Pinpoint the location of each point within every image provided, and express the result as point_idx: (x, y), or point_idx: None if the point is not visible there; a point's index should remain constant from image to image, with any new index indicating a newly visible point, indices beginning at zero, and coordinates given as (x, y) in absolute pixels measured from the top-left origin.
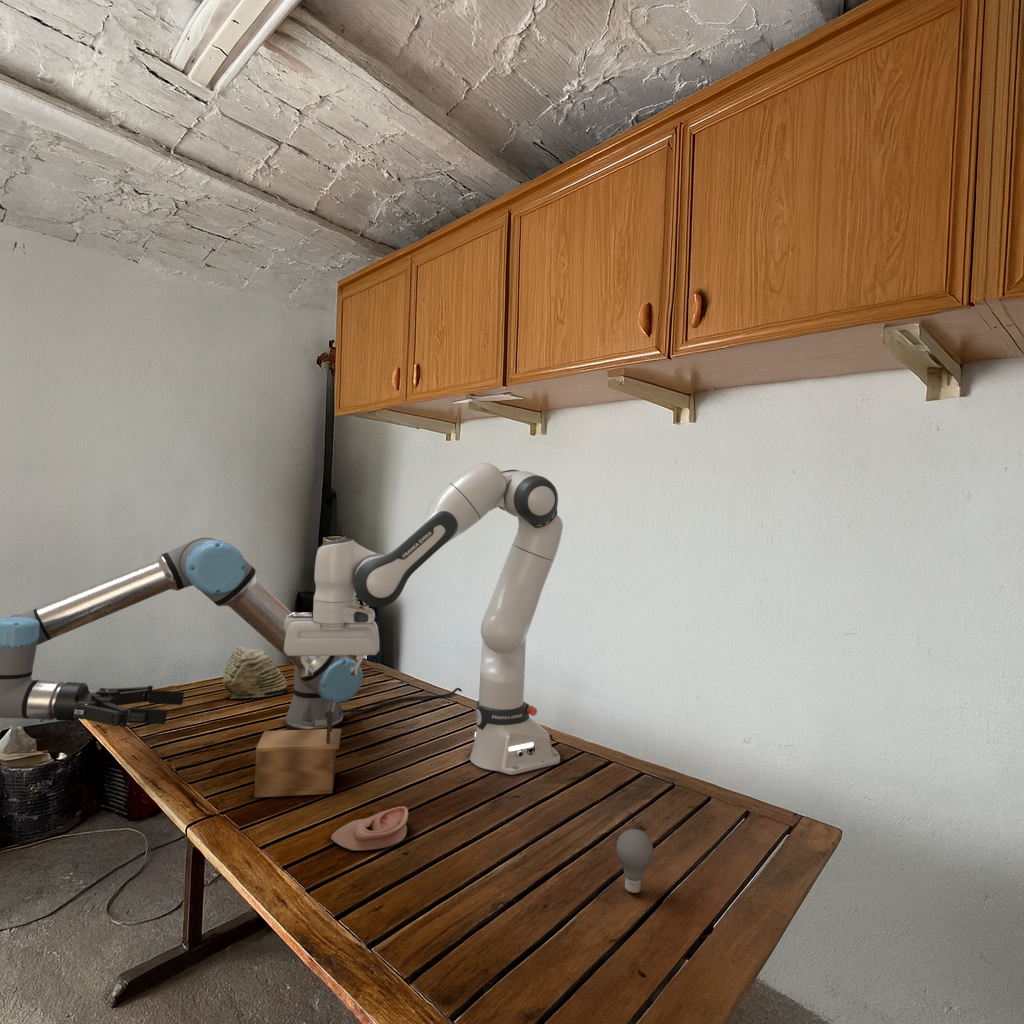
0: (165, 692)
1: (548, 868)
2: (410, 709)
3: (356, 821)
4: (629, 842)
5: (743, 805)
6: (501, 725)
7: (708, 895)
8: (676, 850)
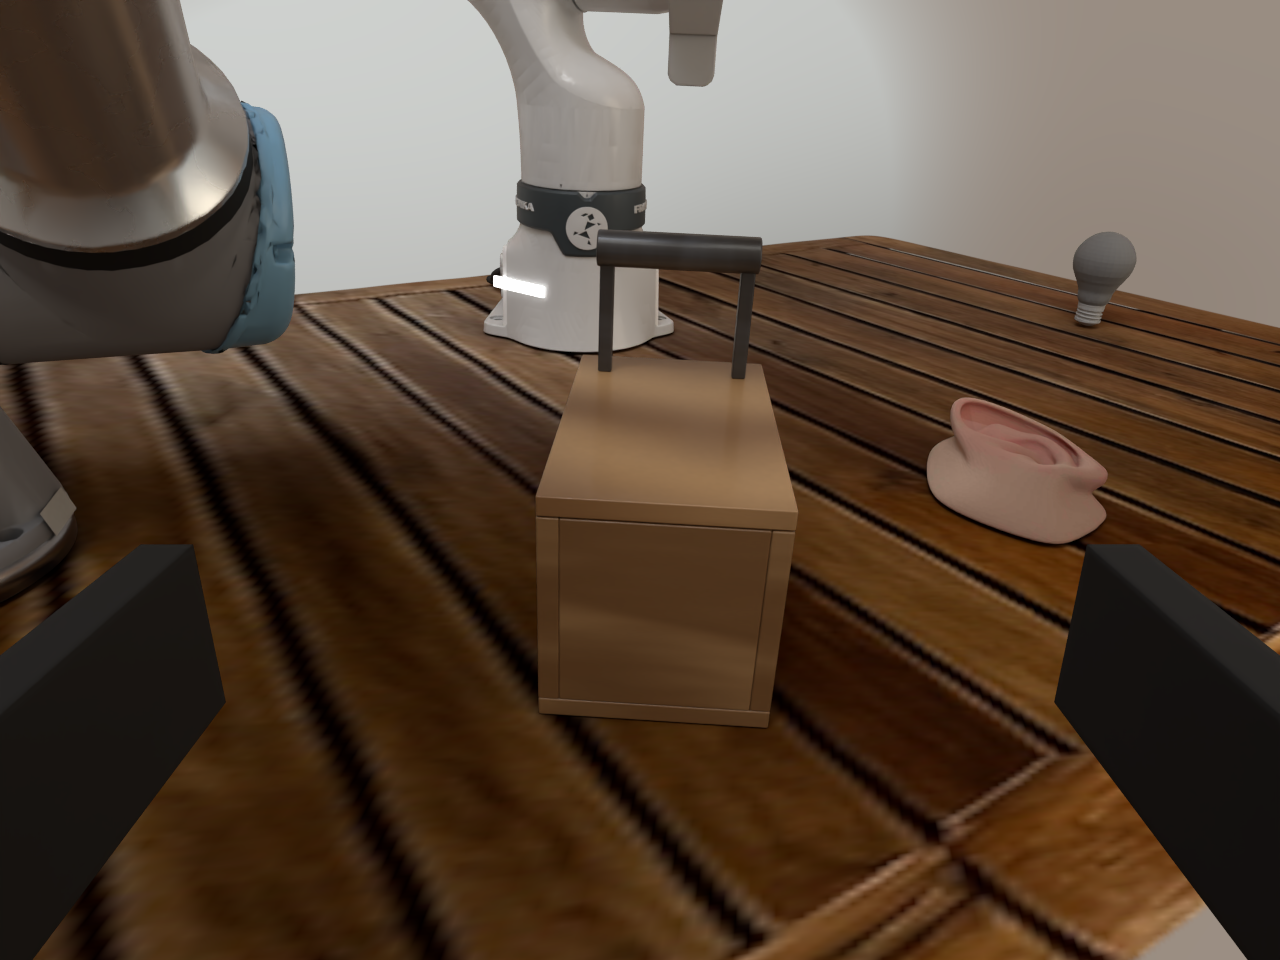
0: (32, 706)
1: (1051, 357)
2: (67, 379)
3: (991, 485)
4: (1130, 245)
5: (810, 247)
6: (639, 228)
7: (1065, 299)
8: (953, 291)
